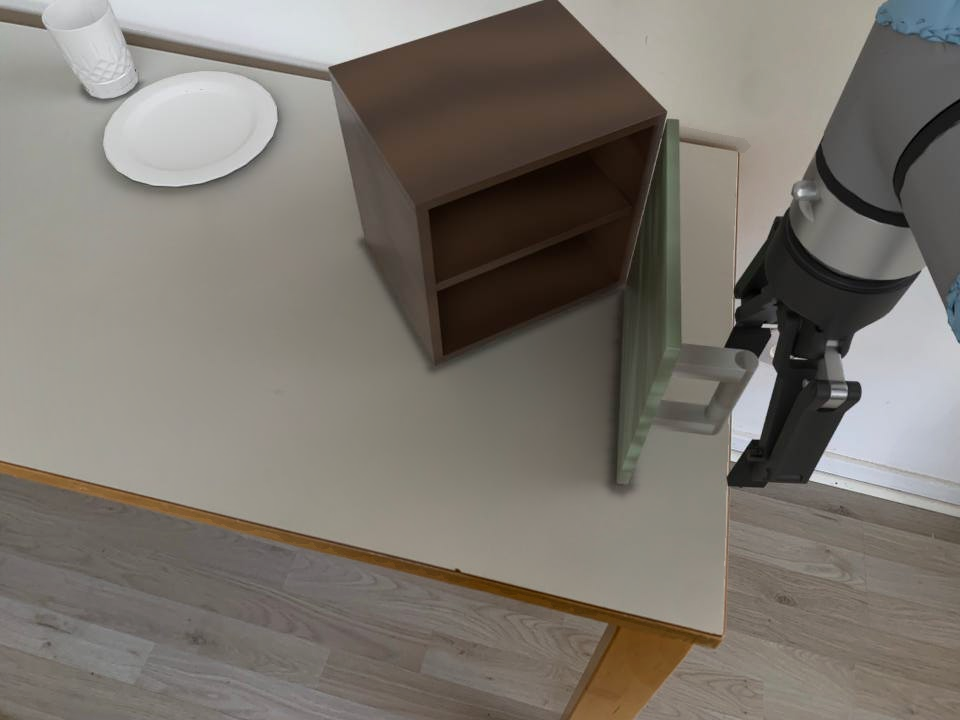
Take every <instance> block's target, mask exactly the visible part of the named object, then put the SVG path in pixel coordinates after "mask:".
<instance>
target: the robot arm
mask: <svg viewBox="0 0 960 720" xmlns="http://www.w3.org/2000/svg"><path fill="white" fill-rule="evenodd" d="M874 18H875V19H874V22H873V24H872V26H871V29H870V31H869V33H868V34H867V37H866V39H865V42H864V44H863V46H862V47H861V50H860V52H859V54H858V57H857V59H856V61H855V63H854V65H853V68H852V70H851V72H850V74H849V76H848V79H847V81H846V83H845V85H844V88H843V90H842V92H841V94H840V96H839V98H838V101H837V102H836V105H835V106H834V109H833V111H832V113H831V116H830V118H829V120H828V122H827V124H826V127H825V129H824V130H823V135H822V138H821V139H820V142H819V144H818V146H817V148H816V150H815V152H814V153H813V156H812V158H811V160H810V162H809V163H808V166H807V168H806V170H805V172H804V174H803V175H802V176H803V177H802V179H801V180H798V181H796V182H794V183H793V185H792V188H791V192H790V195H791V197H792V199H791V201H790V204H789V206H788V208H786V210H785V212H784V214H783V215H776V216H775V217H774V220H773V222H772V225H771V226H770V230H769V233H768V235H767V238H766V239H765V241H764V243H763V244H762V245H761V247H760V248H759V250H758V251H757V252H756V254H755V255H754V257H753V258H752V260H751V261H750V263H749V264H748V265H747V267H746V268H745V270H744V271H743V273H742V275H740V277H739V279H738V280H737V282H736V283H735V285H734V287H733V297H734V299H735V300H740V305H739V306H737V307H736V309H735V312H734V315H733V317H734V321H735V325H734V326H733V328H732V329H731V331H730V333H729V335H728V338H727V340H726V341H725V344H724V345H723V348H732V349H741V350H748V351H751V352H752V353H754V354H755V355H756V356H757V358H758V360H759V359H760V357H761V355H762V354H763V352H764V350H765V349H766V347H767V344H769V341H770V340H771V338H772V330H771V327H763V326H764V325H776V327H777V329H776V330H777V331H778V338H777V343H776V346H775V349H774V353H773V356H772V357H773V358H772V361H771V363H772V364H771V365H772V367H773V369H774V371H775V372H776V377H775V381H774V384H773V388H772V392H771V395H770V399H769V404H768V407H767V411H766V414H765V418H764V422H763V426H762V430H761V433H760V436H759V439H758V438H757V439H756V438H752V439H751V440H750V442H748V444H747V445H746V447H745V448H744V450H743V452H742V453H741V454H740V456H739V458H738V459H737V461H736V462H735V463H734V465H733V467H732V468H731V470H730V471H729V473H728V474H727V475H726V477H725V478H726V485H727V487H733V488H735V487H736V488H756V489H764V488H765V487H766V486H767V485H768V484H769V483H772V484H773V483H776V484H793V485H795V484H796V485H797V484H798V485H807V484H808V483H809V481H810V479H811V477H812V475H813V473H814V472H815V470H816V469H817V466H818V464H819V462H820V460H821V459H822V457H823V455H824V453H825V451H826V449H827V448H828V446H829V444H830V442H831V440H832V439H833V437H834V435H835V433H836V431H837V429H838V427H839V426H840V424H841V422H842V420H843V418H844V416H845V414H846V413H847V412H848V411H849V410H850V409H852V408H853V407H854V406H856V405H857V404H858V403H859V402H860V401H861V399H862V394H863V389H862V384H861V382H860V381H857V380H846V377H845V372H844V371H845V370H844V366H843V360H842V359H844V358H845V357H846V356H847V355H848V353H849V351H850V348H851V344H852V342H853V339H854V336H855V334H856V333H857V332H859V331H860V330H863V329H864V328H866V327H868V326H870V325H872V324H874V323H875V322H877V321H879V320H881V319H883V318H885V317H886V316H887V315H888V314H890V312H891V311H892V310H894V308H895V307H896V305H897V304H898V303H899V302H900V301H901V299H902V298H903V296H905V294H906V293H907V291H909V289H910V288H911V286H913V284H914V282H916V280H917V279H918V277H919V276H920V274H921V273H922V271H923V269H925V268H926V267H927V270H928V272H929V275H930V277H931V279H932V281H933V284H934V286H935V289H936V290H937V291H936V292H937V293H938V296H939V297H940V300H941V303H942V304H943V308H944V309H945V312H946V313H945V314H946V317H947V324H948V325H949V327H950V329H951V331H952V333H953V335H954V337H955V339H956V342H957V344H959V345H960V0H886V1H885V2H882V4H881V5H880V6H879V7H878V9H877V11H876V14H875V16H874ZM791 357H792V358H791Z"/></svg>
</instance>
